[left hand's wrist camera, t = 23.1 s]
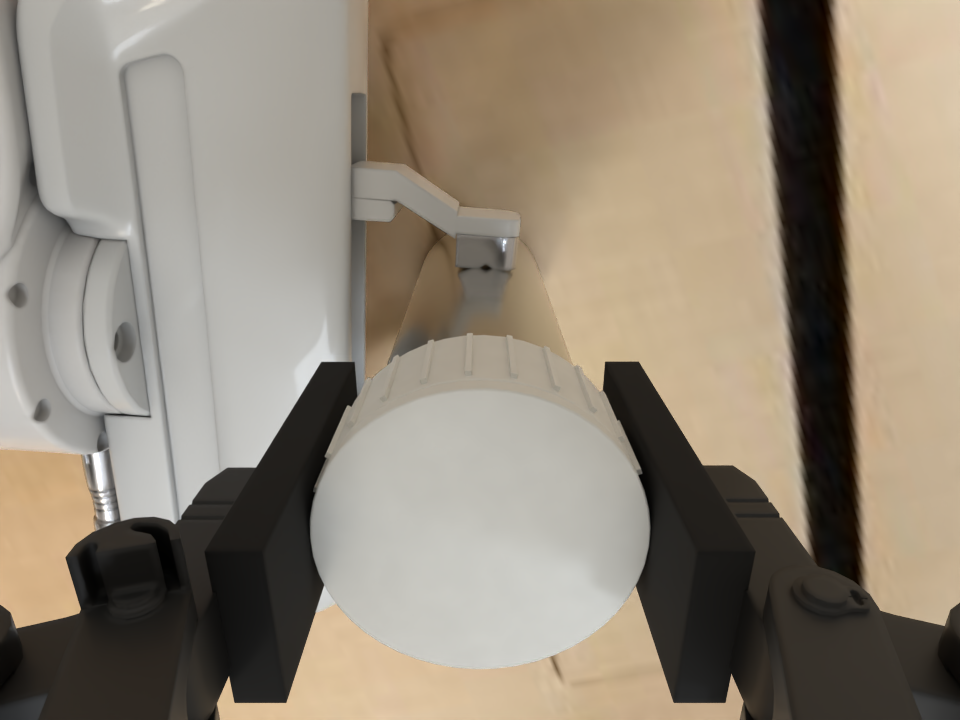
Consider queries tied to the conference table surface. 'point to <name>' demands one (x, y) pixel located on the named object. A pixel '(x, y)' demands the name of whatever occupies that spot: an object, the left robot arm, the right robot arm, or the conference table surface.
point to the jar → (478, 303)
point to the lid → (480, 505)
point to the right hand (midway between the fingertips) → (508, 338)
